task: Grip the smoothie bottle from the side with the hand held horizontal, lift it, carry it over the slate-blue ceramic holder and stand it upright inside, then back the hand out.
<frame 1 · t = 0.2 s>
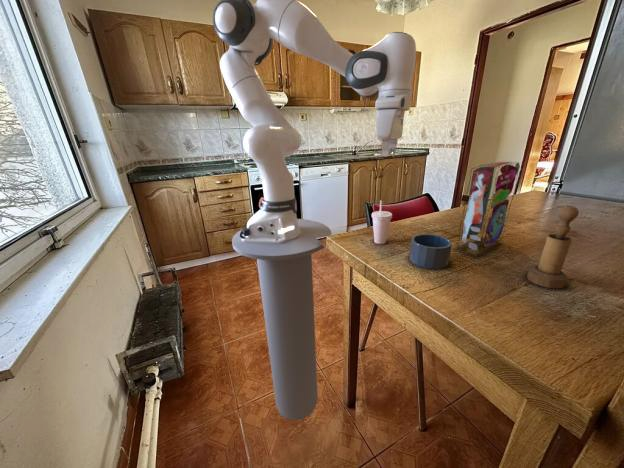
hand: (388, 155, 77), 27 cm above the table, tool pointing down, fingers open, 8 cm apart
mortar and pestle: (544, 282, 60), on the table
holder: (428, 260, 71), on the table
box: (485, 244, 80), on the table
smoothie: (380, 242, 84), on the table
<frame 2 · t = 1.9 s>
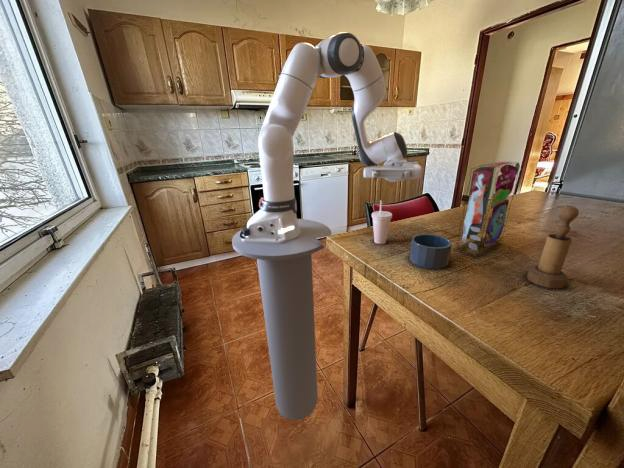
hand: (389, 175, 87), 20 cm above the table, tool horizontal, fingers open, 8 cm apart
nothing on the table moved.
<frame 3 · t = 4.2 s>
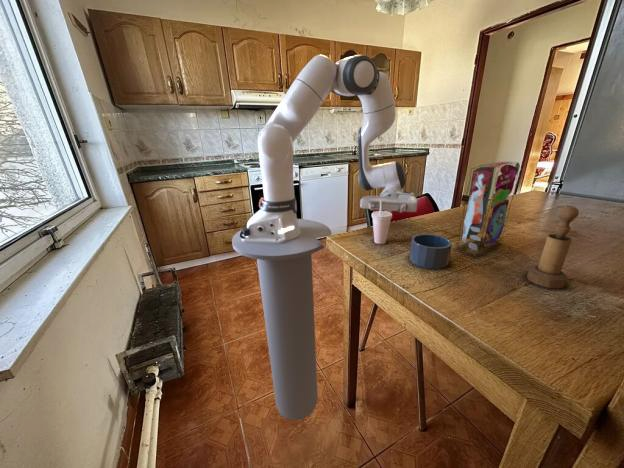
hand: (385, 209, 89), 9 cm above the table, tool horizontal, fingers open, 8 cm apart
nothing on the table moved.
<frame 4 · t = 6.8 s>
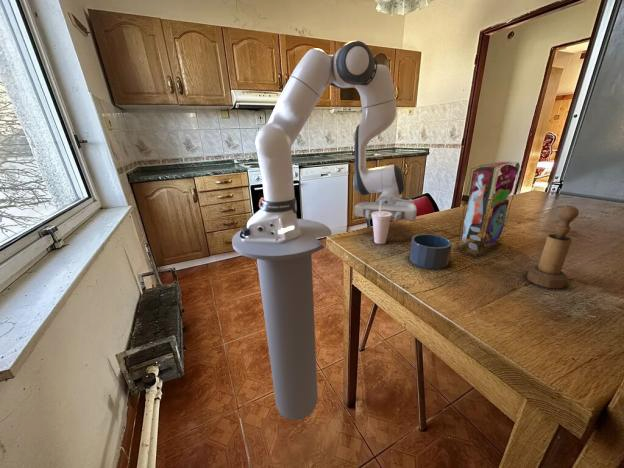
hand: (381, 218, 80), 9 cm above the table, tool horizontal, fingers closed on smoothie, 6 cm apart
smoothie: (380, 242, 84), on the table, touching gripper
everything else where it was.
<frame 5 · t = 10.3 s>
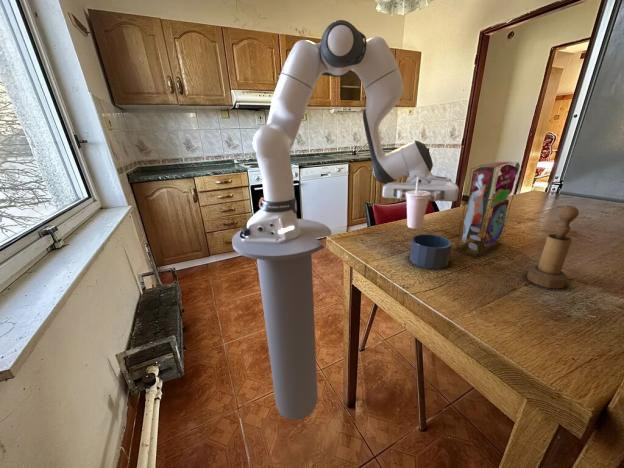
hand: (417, 197, 69), 17 cm above the table, tool horizontal, fingers closed on smoothie, 6 cm apart
smoothie: (414, 227, 73), point 8 cm above the table, touching gripper
everything else where it was.
when the fingers open (9 cm above the table, at t = 13.8 s): smoothie stays where it is, resting on holder.
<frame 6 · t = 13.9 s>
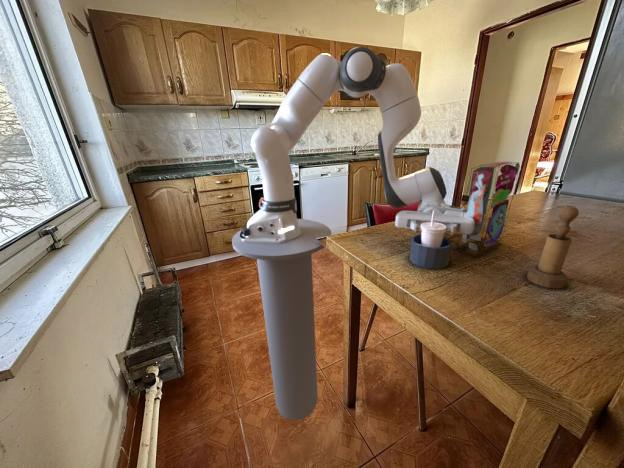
hand: (433, 231, 67), 9 cm above the table, tool horizontal, fingers open, 6 cm apart
smoothie: (428, 259, 71), resting on holder
everything else where it was.
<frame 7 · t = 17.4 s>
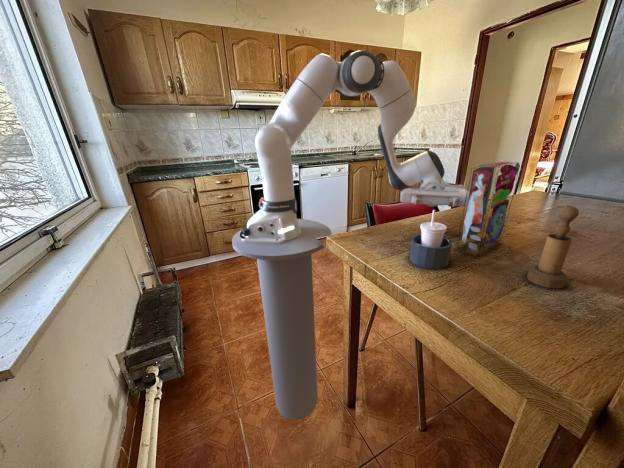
hand: (434, 203, 76), 13 cm above the table, tool horizontal, fingers open, 8 cm apart
nothing on the table moved.
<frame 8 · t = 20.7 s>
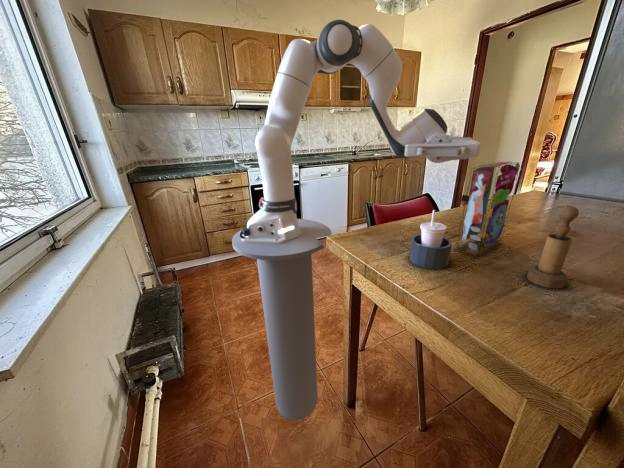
hand: (441, 151, 71), 28 cm above the table, tool horizontal, fingers open, 8 cm apart
nothing on the table moved.
at the end: smoothie 0.1 cm off-centre in the holder, point 0.4 cm above the holder's base; smoothie tilted 0°; the gripper is holding nothing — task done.
